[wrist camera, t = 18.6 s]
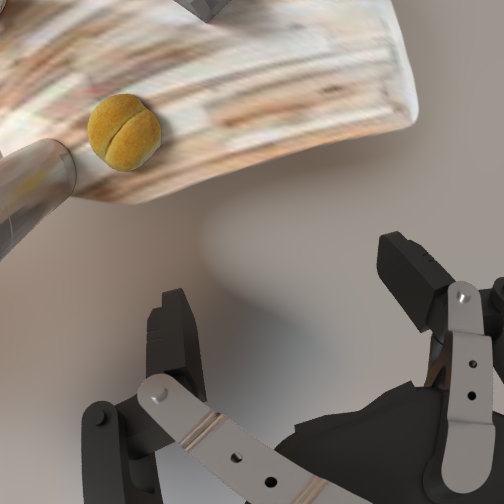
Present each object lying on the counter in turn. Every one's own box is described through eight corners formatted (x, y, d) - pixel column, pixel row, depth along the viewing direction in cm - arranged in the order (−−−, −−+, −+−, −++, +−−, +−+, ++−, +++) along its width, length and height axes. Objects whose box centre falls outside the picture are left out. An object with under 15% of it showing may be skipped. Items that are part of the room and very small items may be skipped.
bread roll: (122, 80, 29) (108, 82, 26) (175, 131, 33) (166, 138, 30) (81, 132, 32) (65, 139, 29) (129, 179, 36) (118, 191, 32)
